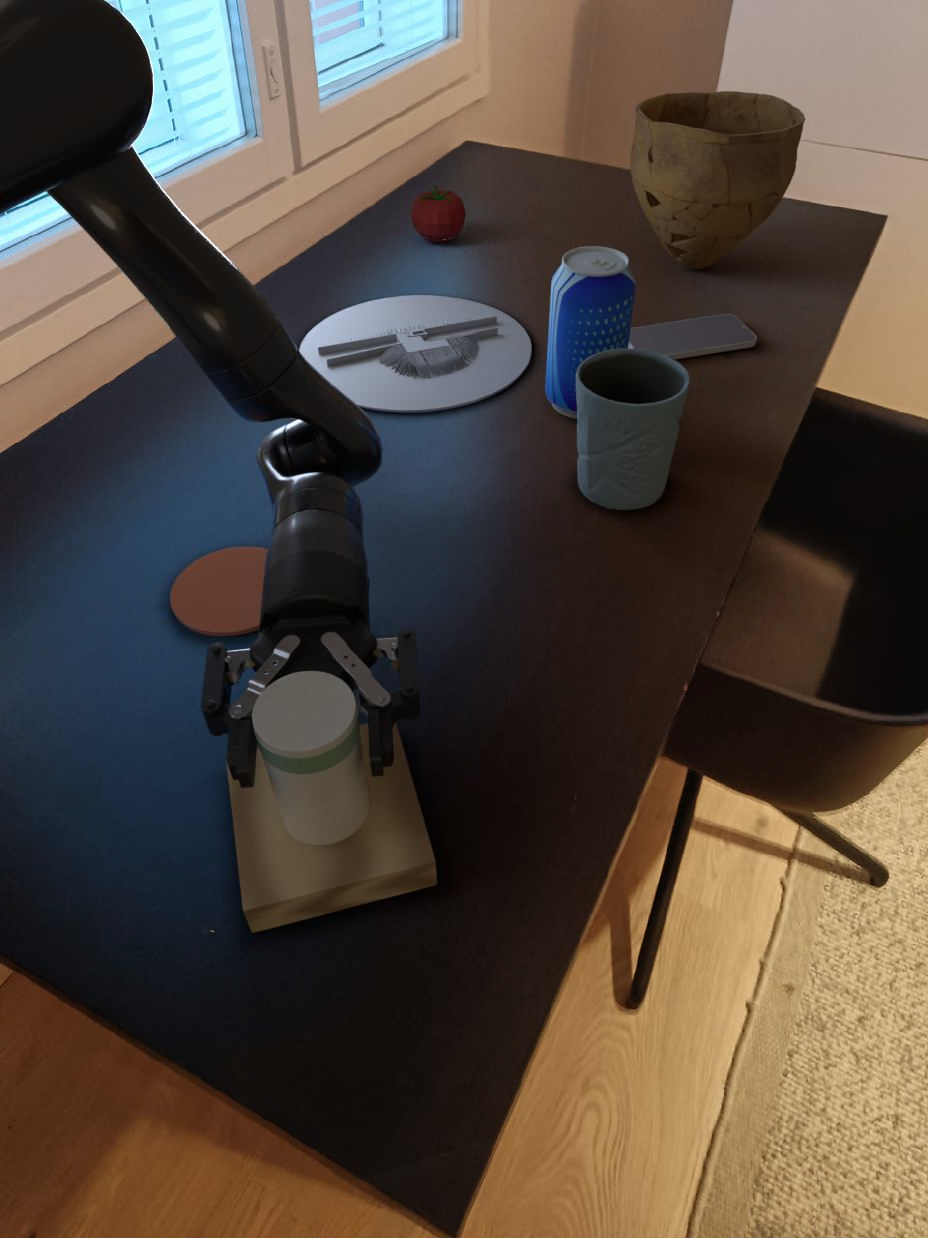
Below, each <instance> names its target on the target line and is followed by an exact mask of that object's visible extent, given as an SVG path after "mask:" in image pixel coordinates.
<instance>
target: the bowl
mask: <svg viewBox="0 0 928 1238" xmlns="http://www.w3.org/2000/svg"><path fill="white" fill-rule="evenodd" d="M635 117H636V118H635V125H634V135H633V139H632V140H633V141H632V146H631V150H630V161H629V167H630V169H629V170H630V175H631V180H632V183H633V184H632V185H633V188H634V192H635V195H636V198H637V200H638V202H639V204H640V207H641V209H642V212H643V213H644V215H645V217H646V219H647V220H648V223H649V224H650V226H651V227H652V229H653V231H654V232H655V234H656V235H657V237H658V238H659V241H660V243H661V245H662V246H663V248H664V249H665V250H666V251H667V253H668V254H669V255H670V256H671V258H673V260H674V261H675V262H677V263H678V264H680V265H681V266H683V267H685V268H686V269H690V270H694V271H695V270H700V269H701V270H702V269H706V268H708V267H709V266H711V265H713V264H714V263H715V262H718V261H719V260H721V259H722V258H723V257H724V256H726V255H727V254H729V253H730V252H731V251H732V250H733V249H734V248H736V247H737V246H738V245H739V244H740V243H742V242H743V241H744V240H745V239H747V238H748V237H749V236H750V235H751V234H752V233H753V232H754V231H755V230H756V229H758V228H759V227H760V226H761V225H762V224H763V223H764V222H766V220H768V218H769V217H770V216H771V215H772V214H773V213H774V212H775V210H776V209H777V208H778V206H779V204H780V203H781V201H782V199H783V198H784V196H785V194H786V192H787V190H788V189H789V186H790V184H791V182H792V180H793V177H794V175H795V173H796V168H797V161H798V148H799V145H800V142H801V138H802V134H803V130H804V124H805V121H806V117H805V114H804V113H803V112H802V111H801V109H800V108H798V107H795V105H792V103H790V102H788V101H786V99H785V100H784V99H783V98H781V97H778V96H775V95H772V94H766V93H758V92H757V93H756V92H745V91H734V90H731V91H729V90H725V91H723V90H721V91H710V92H695V91H694V92H692V91H690V92H674V93H671V92H670V93H663V94H659V95H656V96H655V95H654V96H652V97H650V98H647V99H644V100H643V101H640V102H639V103H638V104H637V106H636V107H635Z"/></svg>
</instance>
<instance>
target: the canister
mask: <svg viewBox="0 0 928 1238" xmlns="http://www.w3.org/2000/svg"><path fill="white" fill-rule="evenodd" d="M252 722H253V728H254V733H255V736H256V740H257V748H259V749H260V752H261V754H262V757H263V761H264V764H265V768H266V771H267V774H268V778H269V781H270V785H271V788H272V792H273V795H274V799H275V802H276V806H277V809H278V812H279V816H280V819H281V822H282V825H283V826H284V828H285V830H286V831H287V832H288V833H289V834H290V835H291V836H292V837H294V838H295V839H297V840H299V841H301V842H303V843H307V844H311V845H329V844H334V843H337V842H340V841H342V840H344V839H346V838H348V837H350V836H351V835H352V834H354V833H355V832H356V831H357V830H358V829H359V828H360V827H361V826H362V825H363V823H364V822H365V820H366V818H367V816H368V814H369V811H370V805H371V798H370V792H369V785H368V779H367V772H366V766H365V760H364V753H363V747H362V740H361V734H360V725H361V722H360V716H359V712H358V709H357V704H356V701H355V697H354V694H353V692H352V690H351V689H350V688H349V686H348V685H347V684H346V683H345V682H344V681H342V680H341V679H339V678H338V677H336V676H334V675H331V674H328V673H324V672H318V671H303V672H297V673H293V674H290V675H287V676H284V677H282V678H280V679H278V680H276V681H275V682H273V683H272V684H270V685H269V686H268V687H267V688H266V689H265V690H264V691H263V692H262V693H261V694H260V695H259V697H258V699H257V700H256V703H255V705H254V708H253V712H252Z"/></svg>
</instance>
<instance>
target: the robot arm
mask: <svg viewBox="0 0 928 1238" xmlns="http://www.w3.org/2000/svg"><path fill="white" fill-rule="evenodd" d="M152 65H153V64H152V61H151V56H150V53H149V51H148V48H147V46H146V44H145V41H144V40H143V38H142V36H141V35H140V33H139V32H138V31H137V28H136V27H135V26H134V24H133V23H132V22H131V21H130V20H129V19H128V17H127V16H125V15H124V13H122V11H120V9H118V8H117V7H115V6H114V5H113V4H112V3H110V2H109V1H107V0H0V216H1V215H3V214H5V213H7V212H8V211H10V210H12V209H14V208H15V207H17V206H20V205H22V204H23V203H26V202H28V201H29V200H31V199H33V198H36V197H37V196H39V195H41V194H43V193H47V194H48V195H49V196H50V197H51V198H52V199H53V200H54V202H56V203H57V204H58V205H59V206H60V207H61V208H62V209H63V210H64V211H65V212H66V213H68V215H69V216H70V217H71V218H72V219H73V220H74V221H75V222H76V223H77V224H78V226H80V227H81V228H82V229H83V231H84V232H85V233H86V234H88V236H89V237H90V238H91V239H92V240H93V241H94V242H95V243H96V244H97V246H99V247H100V248H101V250H102V251H103V252H104V253H105V254H106V256H108V257H109V259H110V260H111V261H112V262H113V263H114V264H115V265H116V266H117V268H118V269H119V270H120V271H121V272H122V273H123V274H124V276H125V277H126V278H127V279H128V280H129V282H130V283H132V285H133V286H134V287H135V288H136V289H137V291H138V292H139V293H140V294H141V296H143V298H144V299H145V300H146V302H147V303H148V304H149V305H150V306H151V308H152V309H153V310H154V311H155V313H156V314H157V315H158V316H159V318H160V319H161V320H162V321H163V322H164V324H165V325H166V326H167V327H168V329H169V330H170V332H171V333H172V334H173V335H174V336H175V338H176V339H177V340H178V341H179V342H180V344H181V345H182V346H183V348H184V349H185V350H186V352H187V353H188V354H189V356H190V357H191V359H192V360H193V361H194V363H196V365H197V366H198V368H199V369H200V370H201V372H202V373H203V374H204V376H205V377H206V378H207V380H208V381H209V382H210V383H211V384H212V386H213V387H214V388H215V389H216V391H217V392H218V394H219V395H220V396H221V398H222V399H223V400H224V401H225V402H226V404H227V405H228V406H229V407H230V409H231V410H232V411H233V412H234V414H235V415H237V417H239V418H240V419H241V420H244V421H245V422H247V423H248V422H249V423H252V424H253V423H254V424H260V423H268V422H274V421H280V420H287V419H294V420H293V421H290V422H288V423H286V424H284V425H282V426H279V427H278V428H276V429H273V430H272V431H271V432H269V433H268V434H266V436H265V437H264V438H263V440H262V441H261V443H260V444H259V446H258V448H257V451H256V454H255V461H256V462H255V463H256V467H257V470H258V473H259V475H260V478H261V481H262V482H263V483H262V484H263V485H264V487H265V489H266V493H267V497H268V500H269V504H270V508H271V513H272V517H271V526H270V527H271V528H270V541H269V544H268V548H267V549H268V551H267V554H266V560H265V568H264V579H263V590H262V601H261V613H260V624H259V630H258V635H257V637H256V639H255V641H253V643H252V644H251V646H250V648H245V649H234V650H227V646H226V644H225V643H224V642H220V641H219V642H218V641H217V642H213V643H211V644H210V645H209V646H208V647H207V650H206V658H205V666H204V675H203V683H202V692H201V700H200V709H201V712H202V715H203V718H204V720H205V723H206V726H207V729H208V732H209V734H210V735H211V736H213V737H220V736H221V737H222V736H224V734H225V735H228V738H227V746H226V747H227V748H226V754H225V761H227V763H226V765H227V764H228V767H229V770H230V773H231V776H232V778H233V780H239V783H240V786H241V788H249V787H254V781H255V768H256V756H257V748H258V743H257V740H256V736H255V733H254V728H253V722H252V712H253V708H254V705H255V703H256V700H257V699H258V697H259V695H260V694H261V693H262V692H263V691H264V690H265V689H266V688H267V687H268V686H269V685H270V684H272V683H273V682H275V681H276V680H278V679H280V678H282V677H284V676H287V675H290V674H293V673H297V672H303V671H318V672H324V673H328V674H331V675H334V676H336V677H338V678H339V679H341V680H342V681H344V682H345V683H346V684H347V685H348V686H349V688H350V689H351V690H352V692H353V694H354V697H355V701H356V704H357V709H358V713H362V714H363V715H364V716H365V717H366V718H367V723H368V728H369V757H370V766H371V773H372V777H377V776H384V770H383V767H390V766H392V764H393V761H394V745H393V725H394V724H395V722H396V723H397V722H398V721H400V720H403V719H405V720H409V721H413V720H417V719H418V718H419V717H420V716H421V713H422V711H421V696H420V682H419V681H420V678H419V661H418V649H417V648H418V647H417V635H416V631H415V629H413V628H412V627H402V628H401V629H399V630H398V631H397V636H395V637H381V638H377V637H376V636H375V634H374V633H373V632H372V631H371V620H370V619H371V618H370V592H369V591H370V585H371V580H370V577H369V563H368V557H367V553H366V549H365V541H364V516H363V515H364V514H363V513H364V512H363V511H364V510H363V504H362V501H361V498H360V495H359V493H358V492H357V490H356V489H355V487H356V486H358V485H360V484H363V483H365V482H367V481H368V480H370V479H372V478H373V477H375V476H376V475H377V473H378V472H379V470H380V469H381V466H382V463H383V459H384V447H383V441H382V438H381V434H380V432H379V430H378V428H377V427H376V425H375V424H374V422H373V421H372V419H371V417H369V415H368V414H367V413H366V412H365V411H364V410H363V408H362V407H359V406H358V405H357V404H356V403H355V402H353V401H352V400H351V399H350V398H349V397H347V396H346V395H345V394H344V393H342V392H341V391H340V390H339V389H338V388H336V387H335V386H334V385H333V384H332V383H330V382H329V381H328V380H327V379H326V378H325V377H324V376H323V375H321V374H320V373H319V372H318V371H317V370H316V369H315V368H314V367H313V366H312V365H311V364H310V363H309V362H308V361H307V360H306V359H305V358H304V356H303V355H302V354H301V352H300V351H299V349H300V348H298V346H297V345H296V344H295V342H294V341H293V339H292V338H291V336H290V334H289V333H288V332H287V330H286V328H285V327H284V325H283V324H282V323H281V321H280V320H279V318H278V317H277V315H276V313H275V312H274V311H273V309H272V308H271V306H270V304H269V303H268V302H267V301H266V299H265V298H264V297H263V295H262V294H261V293H260V291H259V290H258V289H257V288H256V287H255V285H254V284H253V283H252V282H251V281H250V280H249V279H248V278H247V277H246V275H245V274H244V273H243V272H242V271H241V270H240V269H239V268H238V266H237V265H235V264H234V263H233V262H232V260H231V259H229V258H228V257H227V256H226V255H225V253H224V252H222V251H221V250H220V249H219V248H218V247H217V246H216V245H215V244H214V243H213V242H212V241H211V240H210V239H209V238H208V237H207V236H206V235H205V234H204V233H203V232H202V231H201V230H200V229H199V228H198V227H197V226H196V225H195V224H194V223H193V222H192V221H191V220H190V219H189V218H188V217H187V216H186V215H185V214H184V213H183V212H182V211H181V209H180V208H179V207H178V206H177V205H176V204H175V202H174V201H173V200H172V199H171V198H170V196H169V195H168V194H167V192H166V191H164V189H163V188H162V187H161V185H160V184H159V182H158V181H157V180H156V179H155V177H154V176H153V174H152V173H151V171H150V170H149V169H148V167H147V166H146V165H145V163H144V161H143V160H142V159H141V157H140V155H139V154H138V151H137V150H136V148H135V147H134V144H135V142H136V141H137V140H138V139H139V138H140V136H141V135H142V133H143V131H144V130H145V127H146V125H147V123H148V121H149V118H150V115H151V112H152V108H153V103H154V95H155V94H154V93H155V80H154V79H155V78H154V77H155V76H154V69H153V66H152ZM379 658H381V659H383V660H385V661H386V663H387V666H388V667H389V668H390V669H392V670H393V672H395V673H398V681H399V683H398V684H399V686H398V687H399V688H398V689H395V690H393V691H390V692H388V691H387V690H386V689H385V687H383V686H382V684H380V682H378V681H377V679H376V678H375V676H374V675H373V673H372V671H371V669H372V667H373V666H374V665H375V664H376V663H377V661H378V659H379ZM249 669H253V671H254V672H255V673H254V674H253V675H251V677H250V679H249V681H248V683H247V687H246V689H245V691H243V693H242V694H241V695H240V696H239V697H238V698H237V700H235V701H234V703H233V704H232V705H231V701H232V700H231V699H232V691H233V690H232V688H233V686H238V685H239V683H240V680H241V678H242V676H243V674H244V672H246V671H247V670H249Z"/></svg>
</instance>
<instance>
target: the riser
mask: <svg viewBox="0 0 928 1238" xmlns="http://www.w3.org/2000/svg"><path fill="white" fill-rule="evenodd" d="M360 734H361V740H362V747H363V753H364V760H365V766H366V772H367V779H368V785H369V792H370V798H371V805H370V811H369V814H368V816H367V818H366V820H365V822H364V823H363V825H362V826H361V827H360V828H359V829H358V830H357V831H356V832H355V833H354V834H352V835H351V836H350V837H348V838H346V839H344V840H342V841H340V842H337V843H334V844H329V845H311V844H307V843H303V842H301V841H299V840H297V839H295V838H294V837H292V836H291V835H290V834H289V833H288V832H287V831H286V830H285V828H284V826H283V825H282V822H281V819H280V816H279V812H278V809H277V806H276V802H275V799H274V795H273V792H272V788H271V785H270V781H269V778H268V774H267V771H266V768H265V764H264V761H263V757H262V754H261V752H260V749H259V747H257V756H256V768H255V781H254V787H249V788H241V786H240V783H239V780H233V778H232V776H231V773H230V770H229V767H228V764H227V761H226V760H225V761H226V773H227V780H228V790H229V796H230V797H229V798H230V806H231V815H232V824H233V833H234V843H235V853H236V860H237V861H236V862H237V869H238V878H239V888H240V896H241V905H242V906H241V907H242V912H243V914H244V917H245V920H246V922H247V924H248V927H249V929H250V932H251V934H255V933H258V932H261V931H266V930H271V929H274V928H278V927H281V926H286V925H288V924H293V923H297V922H300V921H305V920H309V919H312V918H315V917H320V916H323V915H327V914H331V913H335V912H339V911H343V910H347V909H350V908H353V907H357V906H362V905H365V904H370V903H372V902H377V901H380V900H381V901H382V900H384V899H388V898H389V899H390V898H392V897H397V896H400V895H403V894H407V893H411V892H415V891H418V890H424V889H426V888H430V887H434V886H437V885H438V874H437V860H436V857H435V854H434V850H433V846H432V843H431V840H430V836H429V833H428V829H427V825H426V823H425V819H424V815H423V812H422V809H421V805H420V802H419V798H418V794H417V791H416V788H415V783H414V781H413V780H414V779H413V777H412V773H411V771H410V766H409V763H408V760H407V756H406V752H405V749H404V747H403V746H404V745H403V742H402V738H401V735H400V732H399V728H398V725H397V722H395V724H394V725H393V745H394V761H393V764H392V766H390V767H383V770H384V776H377V777H372V773H371V766H370V757H369V728H368V722H367V723H363V724H360Z"/></svg>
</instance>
